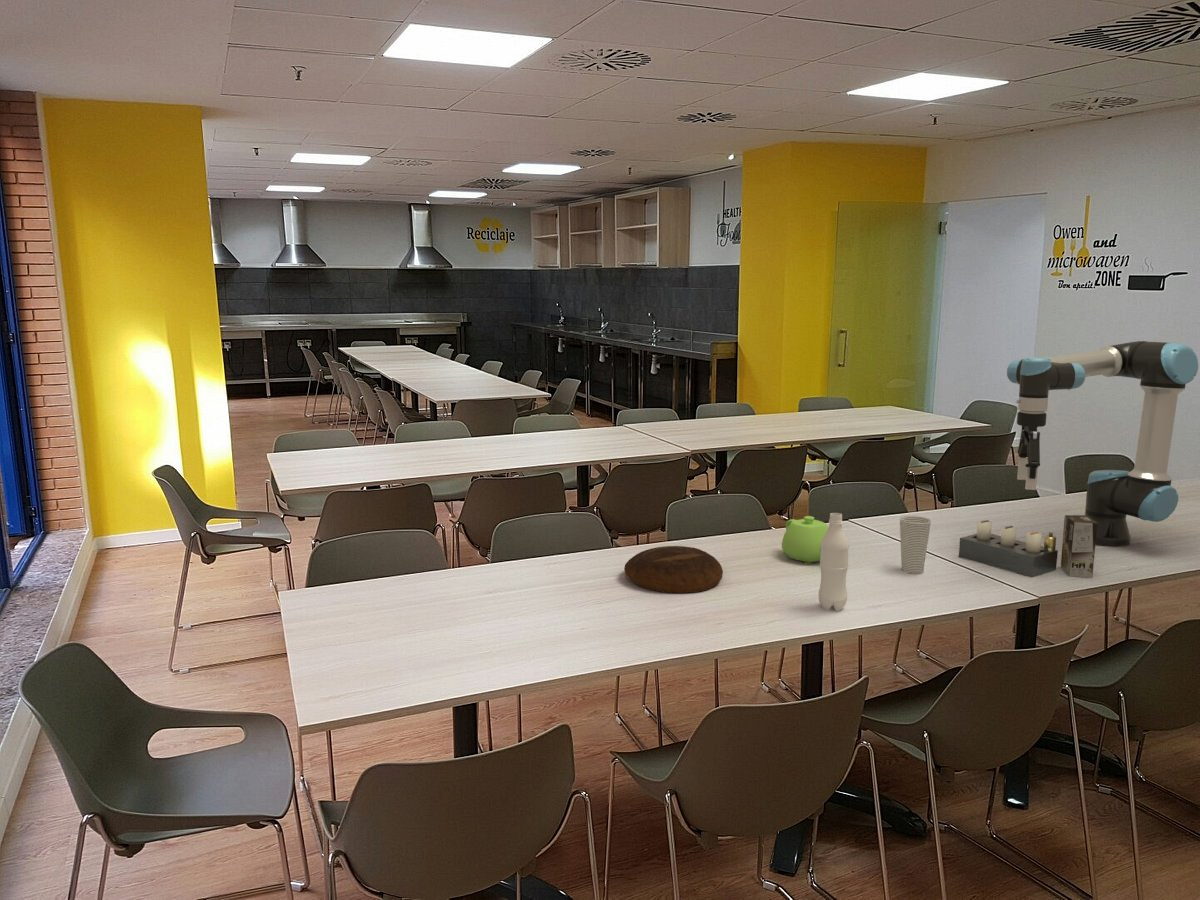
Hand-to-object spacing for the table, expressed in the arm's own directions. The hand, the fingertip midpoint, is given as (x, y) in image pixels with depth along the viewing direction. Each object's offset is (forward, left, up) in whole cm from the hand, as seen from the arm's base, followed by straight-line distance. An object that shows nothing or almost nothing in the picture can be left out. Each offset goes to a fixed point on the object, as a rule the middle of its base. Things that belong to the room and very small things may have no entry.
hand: (1026, 484), depth 259 cm
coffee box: (-10, +12, -25) cm, 30 cm away
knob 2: (-1, -5, -21) cm, 21 cm away
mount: (-1, -5, -25) cm, 26 cm away
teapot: (+44, -41, -25) cm, 65 cm away
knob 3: (-1, +3, -21) cm, 21 cm away
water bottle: (+70, -8, -25) cm, 75 cm away
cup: (+28, -16, -25) cm, 41 cm away
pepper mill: (-5, +6, -19) cm, 21 cm away
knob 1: (-1, -13, -21) cm, 24 cm away
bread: (+90, -50, -26) cm, 106 cm away
